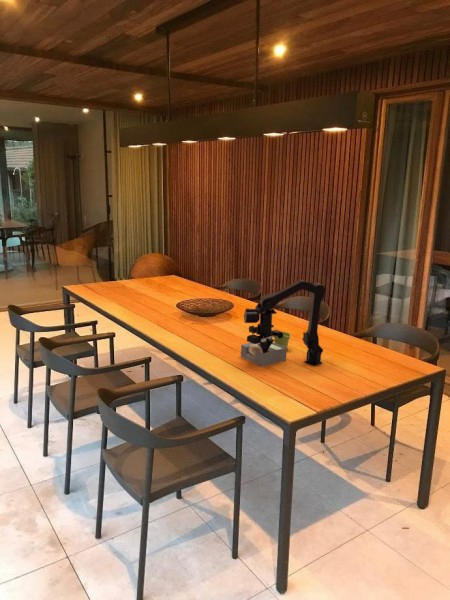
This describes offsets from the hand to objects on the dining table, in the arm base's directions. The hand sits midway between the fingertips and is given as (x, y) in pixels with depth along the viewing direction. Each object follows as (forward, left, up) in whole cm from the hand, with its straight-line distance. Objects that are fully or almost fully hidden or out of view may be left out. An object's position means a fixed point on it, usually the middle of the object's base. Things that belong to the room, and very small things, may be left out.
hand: (264, 353), depth 231 cm
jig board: (+6, -5, -5) cm, 10 cm away
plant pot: (+11, -22, -6) cm, 25 cm away
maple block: (+5, 0, -2) cm, 6 cm away
